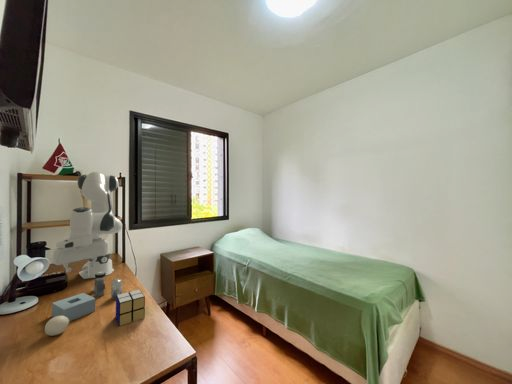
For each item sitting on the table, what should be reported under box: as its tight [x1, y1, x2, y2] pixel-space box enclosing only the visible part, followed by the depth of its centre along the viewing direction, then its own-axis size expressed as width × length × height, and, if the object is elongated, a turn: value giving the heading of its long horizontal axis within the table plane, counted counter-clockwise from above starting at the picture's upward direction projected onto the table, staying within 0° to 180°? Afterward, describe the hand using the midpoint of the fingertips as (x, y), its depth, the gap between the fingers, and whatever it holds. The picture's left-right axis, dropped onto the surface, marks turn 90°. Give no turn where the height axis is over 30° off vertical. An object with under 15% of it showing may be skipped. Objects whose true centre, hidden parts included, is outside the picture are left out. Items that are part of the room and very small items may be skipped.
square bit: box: [93, 278, 105, 298], centre depth 118 cm, size 3×3×9 cm
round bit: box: [110, 278, 123, 300], centre depth 117 cm, size 5×5×9 cm
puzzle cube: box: [115, 288, 146, 327], centre depth 97 cm, size 10×10×10 cm
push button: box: [91, 271, 106, 291], centre depth 126 cm, size 7×5×10 cm
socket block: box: [51, 292, 96, 322], centre depth 100 cm, size 12×12×6 cm
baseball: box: [44, 316, 70, 337], centre depth 86 cm, size 7×7×7 cm
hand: (80, 269), depth 104 cm, fingers open, 8 cm apart
